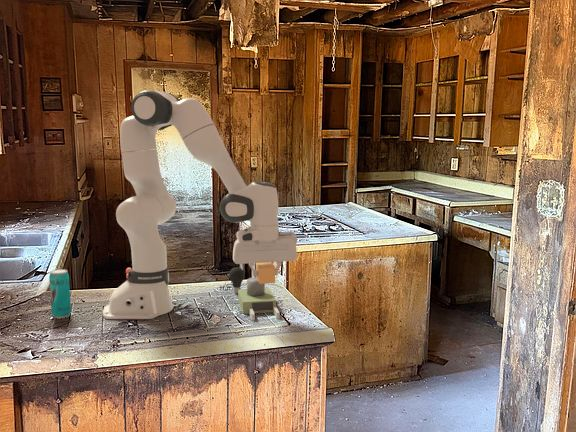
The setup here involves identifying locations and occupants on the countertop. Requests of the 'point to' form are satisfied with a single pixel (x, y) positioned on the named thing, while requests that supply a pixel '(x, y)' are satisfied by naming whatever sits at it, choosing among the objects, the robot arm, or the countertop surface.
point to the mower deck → (257, 299)
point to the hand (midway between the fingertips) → (265, 275)
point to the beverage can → (60, 293)
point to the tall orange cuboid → (265, 273)
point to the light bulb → (236, 278)
